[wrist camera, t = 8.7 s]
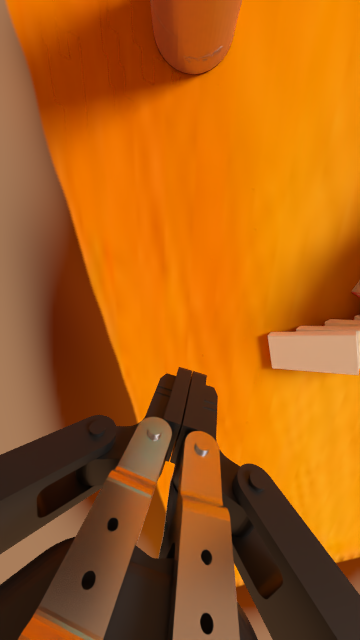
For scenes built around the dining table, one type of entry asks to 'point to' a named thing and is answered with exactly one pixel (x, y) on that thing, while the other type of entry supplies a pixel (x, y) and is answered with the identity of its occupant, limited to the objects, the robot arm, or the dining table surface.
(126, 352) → the dining table surface
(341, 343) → the domino
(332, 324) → the domino
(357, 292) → the stack of blocks
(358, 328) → the domino
